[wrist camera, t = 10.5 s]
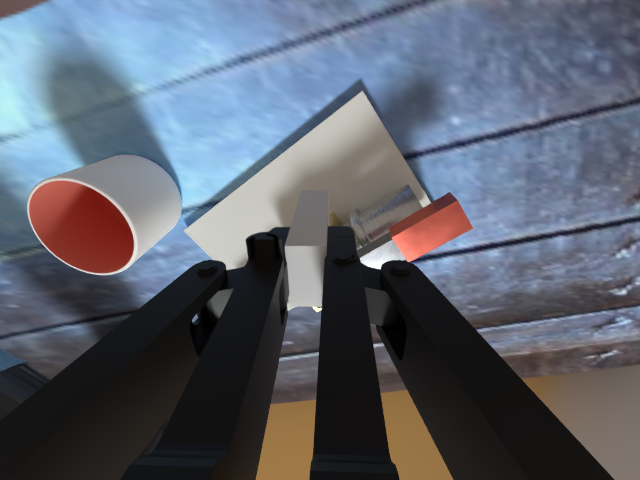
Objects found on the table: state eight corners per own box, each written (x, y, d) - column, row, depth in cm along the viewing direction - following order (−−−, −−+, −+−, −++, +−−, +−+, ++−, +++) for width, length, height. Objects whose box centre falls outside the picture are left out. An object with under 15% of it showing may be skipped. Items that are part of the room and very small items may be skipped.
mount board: (274, 314, 44) (273, 319, 43) (187, 227, 38) (183, 230, 37) (441, 220, 36) (444, 223, 35) (362, 90, 30) (362, 90, 29)
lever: (319, 302, 33) (317, 315, 31) (296, 276, 31) (293, 288, 29) (467, 222, 27) (475, 232, 26) (447, 187, 26) (454, 195, 24)
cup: (175, 152, 34) (117, 177, 25) (193, 232, 39) (149, 277, 30) (90, 151, 35) (4, 176, 26) (118, 230, 39) (53, 274, 30)
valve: (272, 305, 43) (260, 345, 37) (238, 271, 41) (219, 307, 34) (428, 215, 35) (447, 246, 29) (397, 166, 33) (410, 188, 26)
